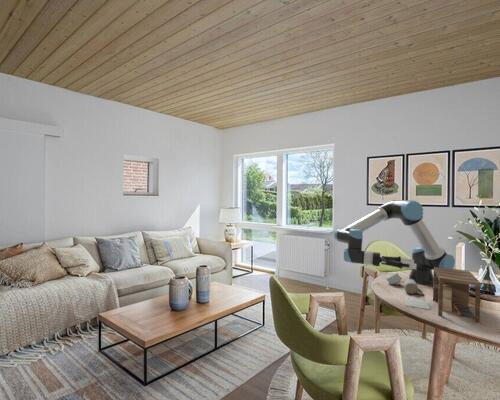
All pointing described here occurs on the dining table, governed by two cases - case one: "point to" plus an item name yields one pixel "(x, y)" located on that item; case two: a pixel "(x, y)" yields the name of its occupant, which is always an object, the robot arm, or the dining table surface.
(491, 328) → the dining table surface
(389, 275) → the grey rock
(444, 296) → the maple block
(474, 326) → the dining table surface
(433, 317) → the dining table surface
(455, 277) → the small wooden table
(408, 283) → the ceramic mug
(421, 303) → the pad
